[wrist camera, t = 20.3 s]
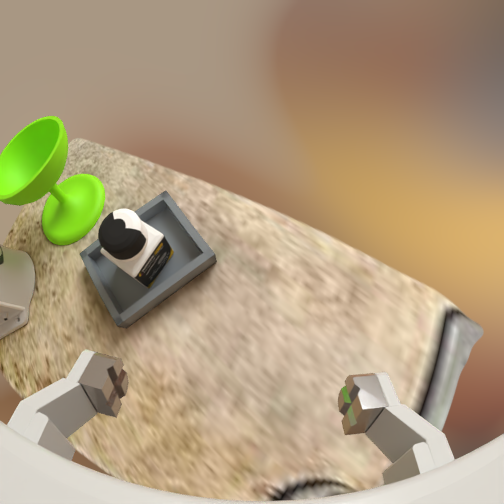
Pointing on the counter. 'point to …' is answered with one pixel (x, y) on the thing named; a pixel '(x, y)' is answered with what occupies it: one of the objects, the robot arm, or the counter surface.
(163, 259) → the medicine bottle
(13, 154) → the wineglass
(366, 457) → the counter surface
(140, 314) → the parts tray
